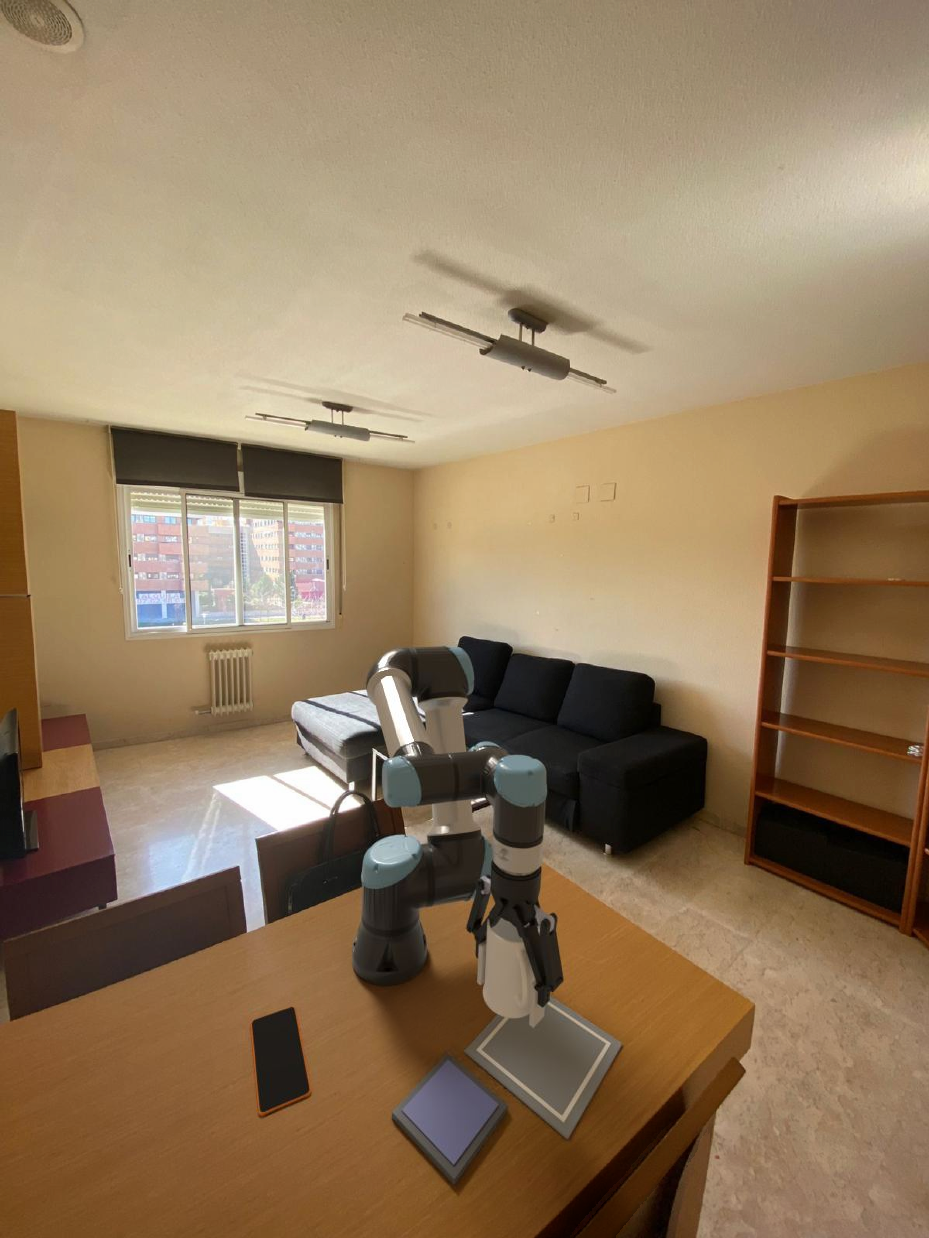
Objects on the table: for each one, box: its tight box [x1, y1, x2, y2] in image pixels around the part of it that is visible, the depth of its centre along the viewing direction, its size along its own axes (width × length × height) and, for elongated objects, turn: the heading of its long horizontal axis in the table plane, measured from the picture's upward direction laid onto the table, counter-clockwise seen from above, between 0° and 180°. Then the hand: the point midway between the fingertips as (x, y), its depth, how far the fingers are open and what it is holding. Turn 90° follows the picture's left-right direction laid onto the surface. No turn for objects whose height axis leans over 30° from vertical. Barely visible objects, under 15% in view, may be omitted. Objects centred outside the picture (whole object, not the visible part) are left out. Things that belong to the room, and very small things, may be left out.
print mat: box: [463, 995, 623, 1141], centre depth 84 cm, size 19×19×1 cm
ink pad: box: [391, 1052, 509, 1186], centre depth 73 cm, size 12×12×1 cm
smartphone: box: [249, 1005, 312, 1118], centre depth 81 cm, size 8×17×1 cm, turn 27°
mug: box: [482, 918, 540, 1018], centre depth 76 cm, size 12×8×12 cm
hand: (509, 998), depth 77 cm, fingers closed on mug, 9 cm apart
